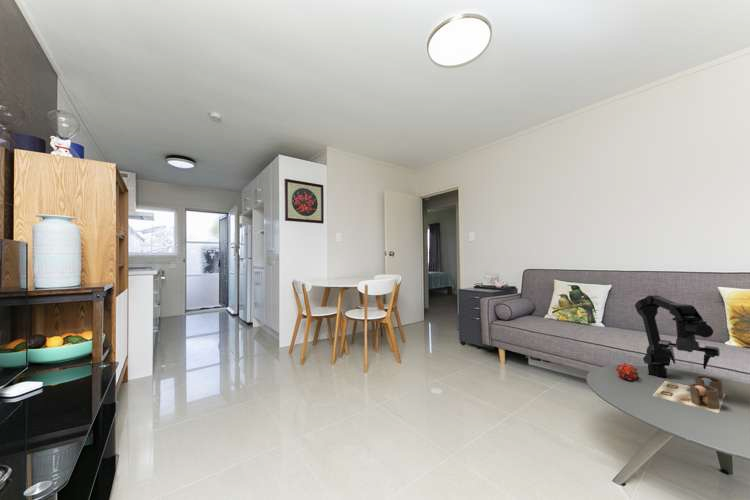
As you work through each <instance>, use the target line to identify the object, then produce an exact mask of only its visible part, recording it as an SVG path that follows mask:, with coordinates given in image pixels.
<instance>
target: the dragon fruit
mask: <svg viewBox="0 0 750 500" xmlns="http://www.w3.org/2000/svg"><path fill="white" fill-rule="evenodd" d="M616 367H617V368H616V370H615V371H616V373H617V374H618V376H619V377H620V378H621V379H624V380H627V381H636V380H638V379H640V376H639V375H640V374H639V372H638V371H637V370H638V368H637V367H635V366H633V365H632V364H630V363H626V362H623V363H622V364H618V365H617V366H616Z"/></svg>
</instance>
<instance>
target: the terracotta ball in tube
mask: <svg viewBox="0 0 750 500" xmlns="http://www.w3.org/2000/svg"><path fill="white" fill-rule="evenodd" d="M701 400H702V402H703V403H704V404H706V405H708V403H707V395H705V396H702V397H701Z"/></svg>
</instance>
